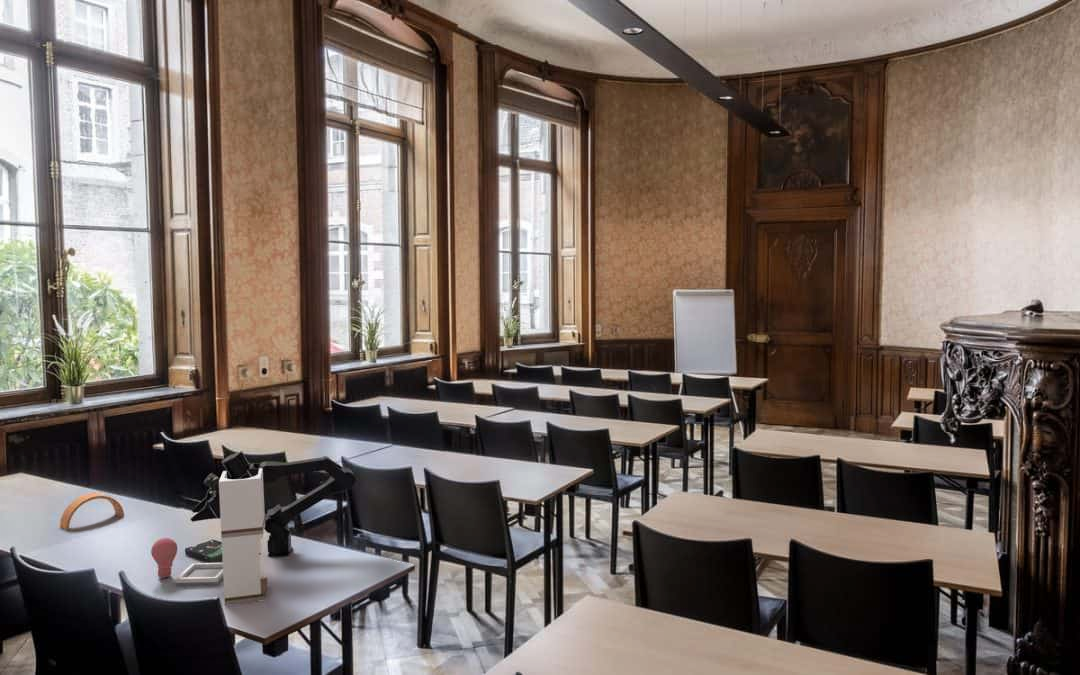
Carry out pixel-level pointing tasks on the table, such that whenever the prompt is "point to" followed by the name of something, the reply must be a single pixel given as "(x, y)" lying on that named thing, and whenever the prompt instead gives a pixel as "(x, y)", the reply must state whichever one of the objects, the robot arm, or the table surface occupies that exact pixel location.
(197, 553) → the disk drive
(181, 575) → the white square frame
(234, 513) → the tall white pillar
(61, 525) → the arch
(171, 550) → the light bulb
